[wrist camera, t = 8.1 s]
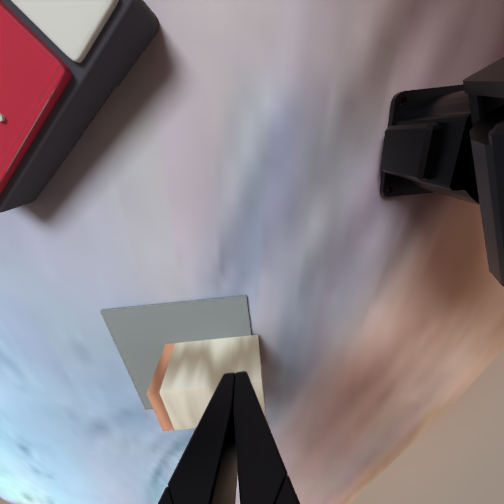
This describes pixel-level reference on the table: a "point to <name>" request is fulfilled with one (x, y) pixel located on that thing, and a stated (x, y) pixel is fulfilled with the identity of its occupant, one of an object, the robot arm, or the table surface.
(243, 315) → the mat
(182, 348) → the block
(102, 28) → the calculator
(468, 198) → the robot arm
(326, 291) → the table surface
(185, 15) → the table surface
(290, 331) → the table surface
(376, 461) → the table surface
